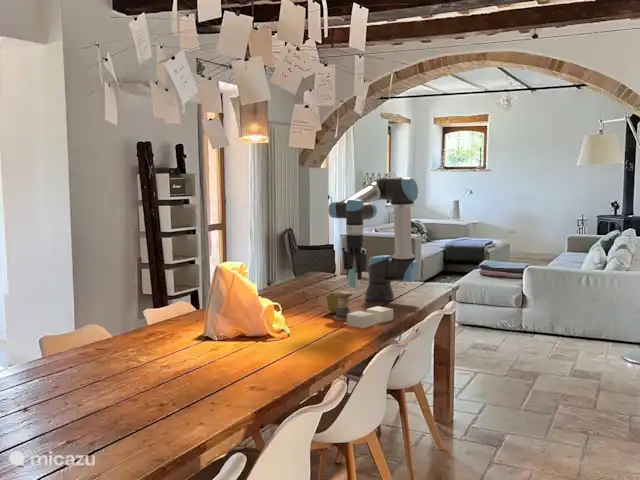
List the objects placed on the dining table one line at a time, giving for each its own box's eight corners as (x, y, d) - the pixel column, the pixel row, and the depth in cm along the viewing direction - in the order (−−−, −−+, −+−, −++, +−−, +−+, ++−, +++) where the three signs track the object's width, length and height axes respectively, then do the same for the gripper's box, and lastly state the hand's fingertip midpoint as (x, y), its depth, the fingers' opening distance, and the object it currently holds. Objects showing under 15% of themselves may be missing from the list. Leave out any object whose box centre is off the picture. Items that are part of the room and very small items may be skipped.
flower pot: (325, 313, 300) (325, 294, 299) (333, 309, 308) (333, 291, 307) (342, 315, 296) (342, 296, 295) (350, 311, 303) (350, 293, 302)
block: (354, 285, 284) (354, 268, 283) (360, 286, 282) (360, 269, 281) (349, 286, 282) (349, 269, 281) (354, 287, 279) (354, 270, 278)
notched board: (377, 316, 293) (377, 306, 292) (393, 319, 287) (393, 308, 286) (346, 325, 277) (346, 314, 276) (362, 328, 271) (362, 317, 270)
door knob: (341, 315, 295) (341, 290, 294) (356, 318, 289) (356, 292, 288) (328, 318, 289) (328, 293, 287) (343, 321, 283) (343, 295, 281)
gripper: (335, 233, 282) (335, 284, 285) (363, 236, 270) (363, 289, 273) (346, 232, 287) (346, 282, 290) (374, 234, 276) (374, 287, 278)
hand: (354, 285), depth 281 cm, fingers closed on block, 3 cm apart
